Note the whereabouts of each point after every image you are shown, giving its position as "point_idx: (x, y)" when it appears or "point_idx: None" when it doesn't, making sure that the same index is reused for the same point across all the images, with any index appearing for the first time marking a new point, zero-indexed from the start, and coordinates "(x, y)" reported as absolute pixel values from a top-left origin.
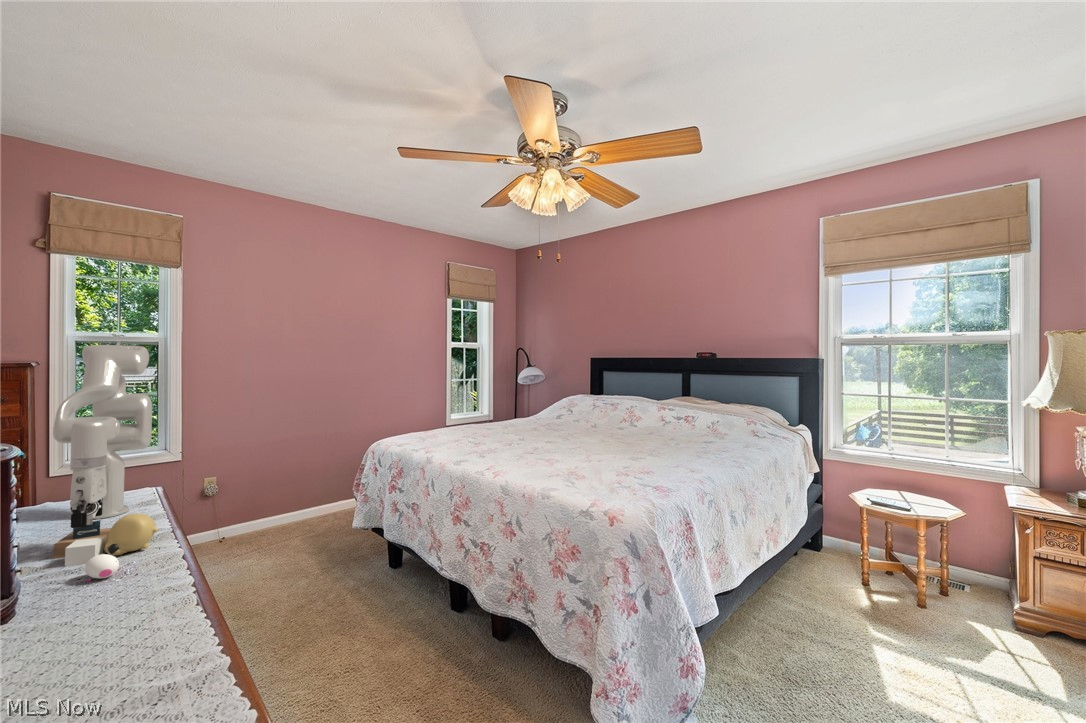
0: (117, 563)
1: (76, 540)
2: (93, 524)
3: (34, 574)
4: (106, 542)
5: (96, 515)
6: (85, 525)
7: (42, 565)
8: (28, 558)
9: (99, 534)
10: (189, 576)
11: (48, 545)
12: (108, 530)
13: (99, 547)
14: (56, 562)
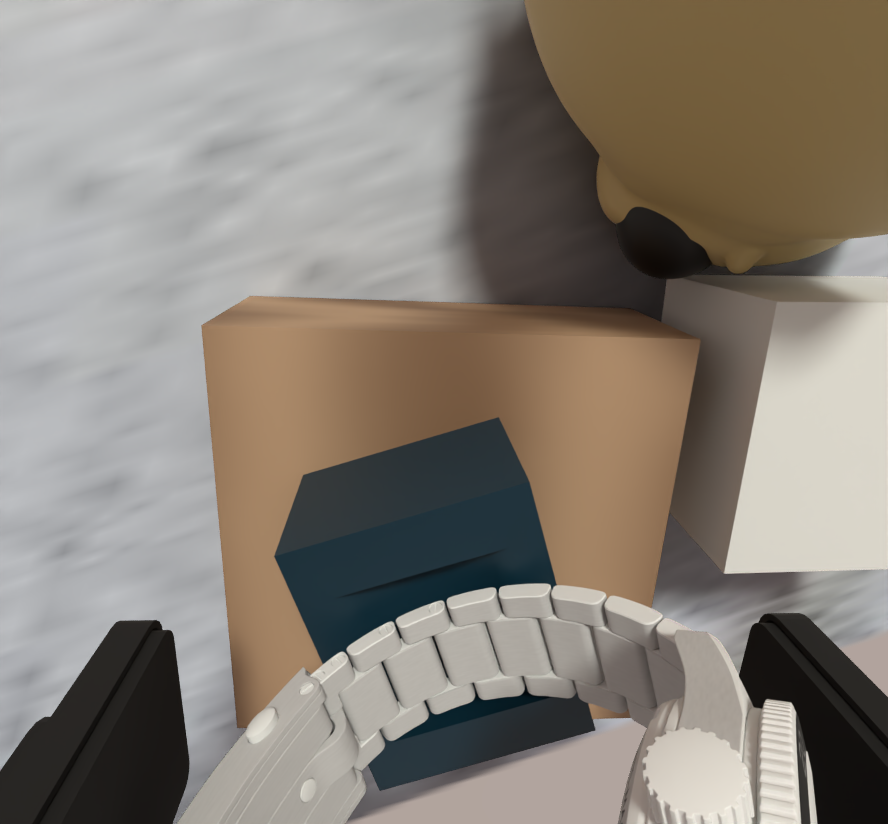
0: None
1: (737, 564)
2: (395, 582)
3: (883, 601)
4: (809, 249)
5: (177, 680)
6: (803, 621)
7: (707, 627)
8: (490, 763)
9: (499, 423)
10: None
11: (213, 768)
12: (324, 379)
13: (866, 289)
14: (689, 566)
